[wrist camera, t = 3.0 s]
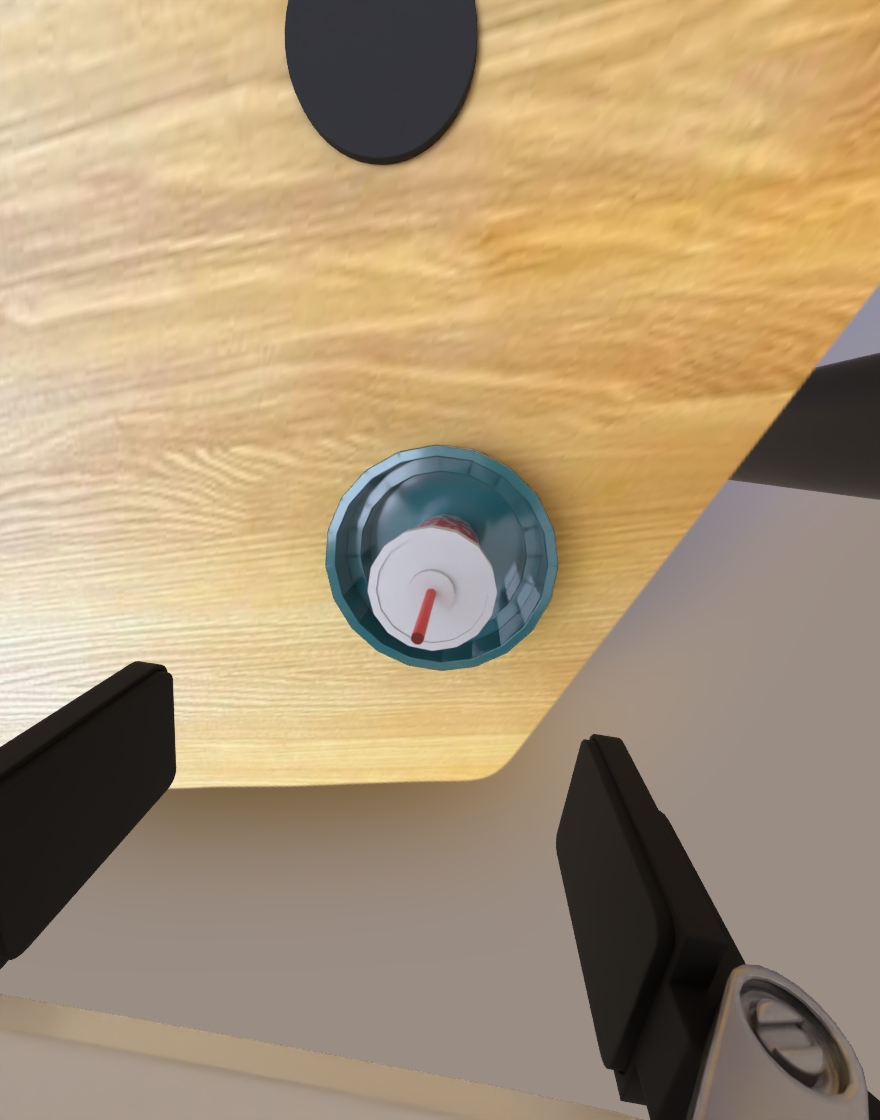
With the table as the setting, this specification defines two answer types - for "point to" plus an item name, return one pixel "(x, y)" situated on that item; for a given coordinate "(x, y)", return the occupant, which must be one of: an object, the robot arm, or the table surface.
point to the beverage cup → (433, 585)
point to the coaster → (381, 71)
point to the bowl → (477, 498)
